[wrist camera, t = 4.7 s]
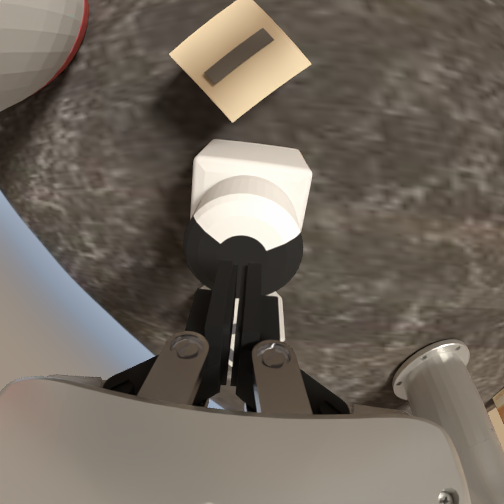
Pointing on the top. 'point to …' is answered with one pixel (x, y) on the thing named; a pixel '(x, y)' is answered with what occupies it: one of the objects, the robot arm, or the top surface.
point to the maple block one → (239, 57)
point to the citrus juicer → (37, 43)
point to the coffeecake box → (500, 403)
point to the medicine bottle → (247, 211)
